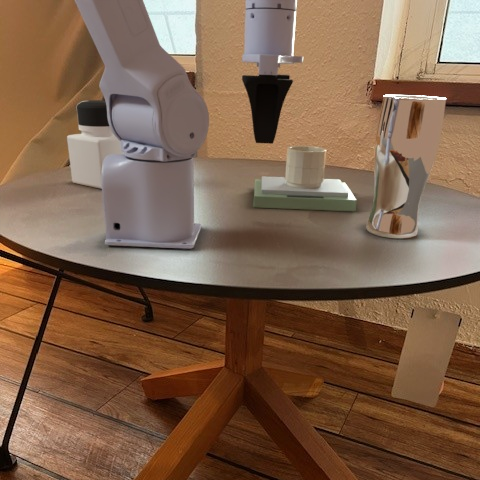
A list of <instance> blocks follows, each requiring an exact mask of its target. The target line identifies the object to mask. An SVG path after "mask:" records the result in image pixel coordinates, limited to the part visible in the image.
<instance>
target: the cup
mask: <svg viewBox="0 0 480 480" xmlns="http://www.w3.org/2000/svg"><path fill="white" fill-rule="evenodd" d="M326 159H327V148H324V147H321V146H313V145H312V146H311V145H291V146H288V147H286V157H285V172H284V177H285V180H286V184H287V185H288V186H291V187H295V188H305V189H310V188H318V187H320V186H321V183H322V182H323V181H324V179H325V170H326V161H327V160H326Z"/></svg>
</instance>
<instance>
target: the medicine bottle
mask: <svg viewBox="0 0 480 480" xmlns="http://www.w3.org/2000/svg"><path fill="white" fill-rule="evenodd" d="M76 115H77V124H78V125H77V126H78V131H80V132H81V133H75V134H68V135H67V136H66V141H67V149H68V150H67V151H68V158H69V166H70V175H71V181H72V183H73V184H77V185H82V186H86V187H90V188H95V189H99V190H102V185H101V175H102V165H103V161H104V159H105V157H106V156H107V155H110V154H124V152H122V151H121V141H120V140H118V139H117V138H116V137H115V135H114V134H113V132H112V131H111V129H110V126H109V123H108V118H107V106H106V101H105V100H101V99H91V100H82V101H80V102H79V103H77V105H76Z"/></svg>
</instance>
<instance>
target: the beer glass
mask: <svg viewBox="0 0 480 480" xmlns="http://www.w3.org/2000/svg"><path fill="white" fill-rule="evenodd" d="M446 102H447V98H446V97H439V96H429V95H428V96H427V95H410V94H409V95H408V94H385V95H383V99H382V104H381V107H380V113H379V116H378V121H377V127H376V132H375V139H374V150H373V169H374V170H373V174H374V175H373V176H374V181H373V182H374V195H373V202H372V206H371V210H370V213H369V216H368V219H367V222H366V225H365V229H366V230H367V232H369V233H370V234H372V235H375V236H378V237H381V238H387V239H397V240H398V239H400V240H401V239H402V240H403V239H404V240H405V239H412V238H414V237H416V236H417V235H418V234H419V233H418V232H419V210H420V204H421V200H422V196H423V194H424V191H425V187H426V185H427V183H428V180H429V178H430V175H431V173H432V172H431V171H432V170H433V167H434V164H435V161H436V159H437V155H438V152H439V147H440V143H441V138H442V134H443V128H444V119H445V109H446Z"/></svg>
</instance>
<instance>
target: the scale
mask: <svg viewBox="0 0 480 480" xmlns="http://www.w3.org/2000/svg"><path fill="white" fill-rule="evenodd" d="M253 190H254V191H253V208H257V209H259V208H260V209H281V210H282V209H283V210H307V211H308V210H309V211H332V212H333V211H334V212H356V210H357V203H358V200H357V198H356V196H354V194H353V192H352V191H351V189H350V188H349V186H348V185H347V184H346V182H342V181H341V179H340V178H339V179H338V178H324V181H323V182H322V183H321V186H320V187H318V188H310V189H305V188H295V187H291V186H288V185H287V184H286V180H285V176H263V175H262V176H261V179H257V178H255V180H254V189H253Z"/></svg>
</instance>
